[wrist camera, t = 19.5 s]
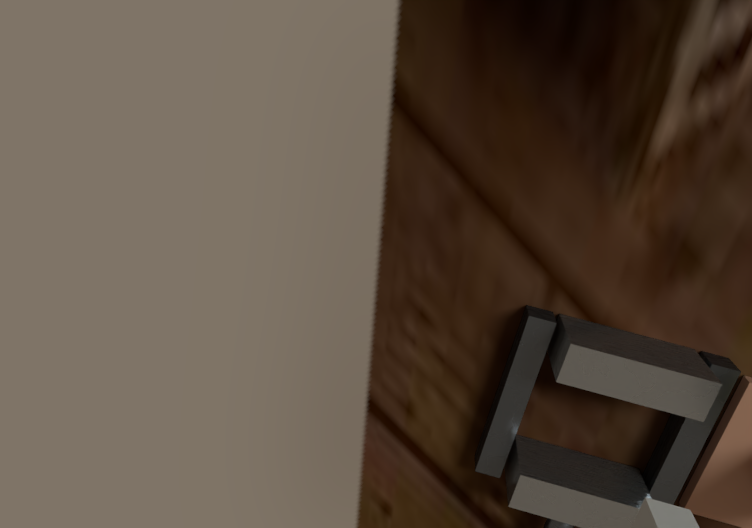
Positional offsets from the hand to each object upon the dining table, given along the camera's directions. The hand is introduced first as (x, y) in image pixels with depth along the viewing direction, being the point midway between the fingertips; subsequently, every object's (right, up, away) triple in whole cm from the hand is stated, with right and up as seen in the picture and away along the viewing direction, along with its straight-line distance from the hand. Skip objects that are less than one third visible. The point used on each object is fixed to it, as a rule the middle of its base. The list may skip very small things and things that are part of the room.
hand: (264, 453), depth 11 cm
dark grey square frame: (+18, -11, +36) cm, 42 cm away
